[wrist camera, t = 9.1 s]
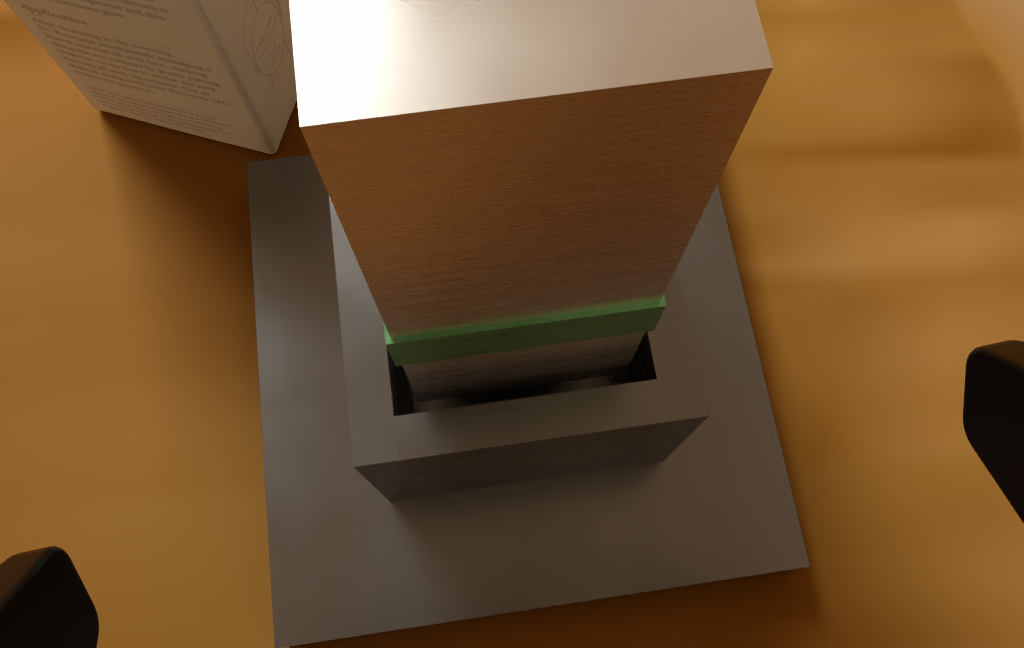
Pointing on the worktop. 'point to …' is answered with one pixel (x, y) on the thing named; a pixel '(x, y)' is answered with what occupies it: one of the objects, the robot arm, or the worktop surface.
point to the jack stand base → (499, 448)
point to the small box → (177, 62)
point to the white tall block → (522, 168)
